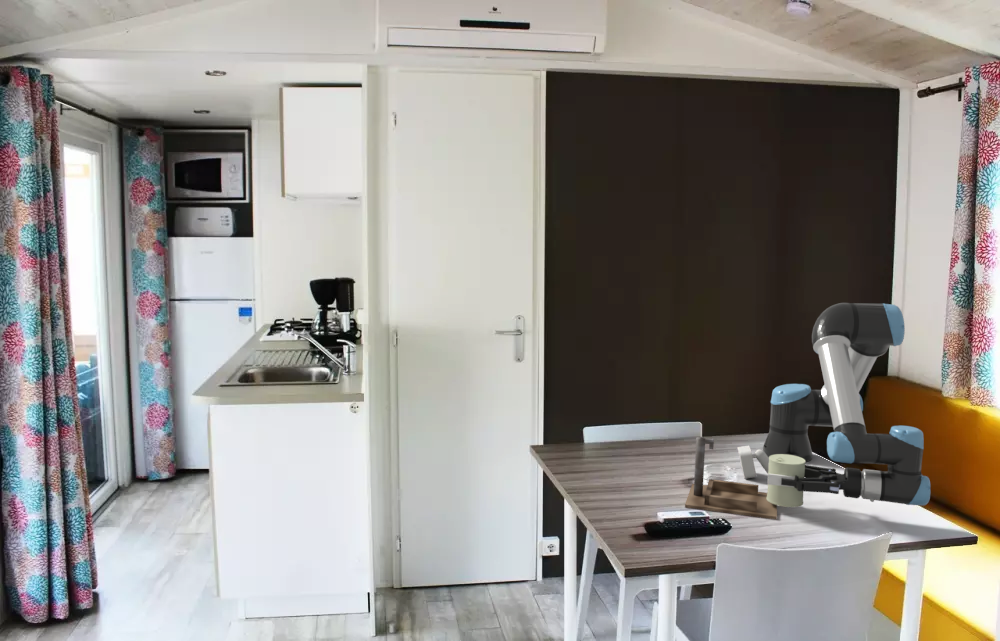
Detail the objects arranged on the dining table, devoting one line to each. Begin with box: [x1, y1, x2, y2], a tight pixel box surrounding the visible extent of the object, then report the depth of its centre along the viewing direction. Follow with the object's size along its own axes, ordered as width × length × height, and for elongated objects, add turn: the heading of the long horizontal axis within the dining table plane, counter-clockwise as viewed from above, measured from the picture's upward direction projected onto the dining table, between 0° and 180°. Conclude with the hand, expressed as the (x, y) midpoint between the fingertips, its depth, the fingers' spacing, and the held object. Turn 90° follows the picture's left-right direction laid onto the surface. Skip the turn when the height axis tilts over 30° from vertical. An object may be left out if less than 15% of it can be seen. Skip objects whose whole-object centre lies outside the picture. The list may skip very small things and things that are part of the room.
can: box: [766, 454, 807, 508], centre depth 204 cm, size 9×9×12 cm
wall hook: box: [737, 445, 769, 480], centre depth 231 cm, size 8×10×10 cm
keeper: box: [684, 436, 778, 520], centre depth 209 cm, size 23×18×17 cm
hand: (767, 473), depth 206 cm, fingers closed on can, 9 cm apart
